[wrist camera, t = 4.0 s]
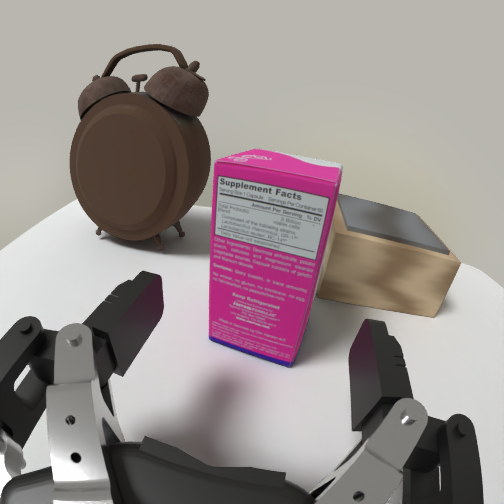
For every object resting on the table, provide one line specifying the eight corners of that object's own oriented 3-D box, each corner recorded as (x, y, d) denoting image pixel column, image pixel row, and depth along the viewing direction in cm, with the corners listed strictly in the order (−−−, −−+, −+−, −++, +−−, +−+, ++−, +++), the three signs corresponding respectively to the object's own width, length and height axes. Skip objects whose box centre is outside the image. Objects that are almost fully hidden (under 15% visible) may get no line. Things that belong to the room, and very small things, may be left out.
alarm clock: (211, 235, 31) (230, 50, 21) (185, 267, 24) (204, 30, 15) (108, 215, 32) (112, 60, 23) (71, 238, 26) (69, 54, 17)
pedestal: (403, 258, 32) (419, 212, 29) (433, 317, 22) (462, 258, 18) (315, 239, 33) (327, 189, 30) (317, 297, 23) (337, 227, 20)
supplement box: (237, 293, 22) (255, 145, 17) (308, 315, 21) (349, 165, 15) (203, 340, 17) (212, 155, 12) (291, 371, 16) (347, 182, 10)
